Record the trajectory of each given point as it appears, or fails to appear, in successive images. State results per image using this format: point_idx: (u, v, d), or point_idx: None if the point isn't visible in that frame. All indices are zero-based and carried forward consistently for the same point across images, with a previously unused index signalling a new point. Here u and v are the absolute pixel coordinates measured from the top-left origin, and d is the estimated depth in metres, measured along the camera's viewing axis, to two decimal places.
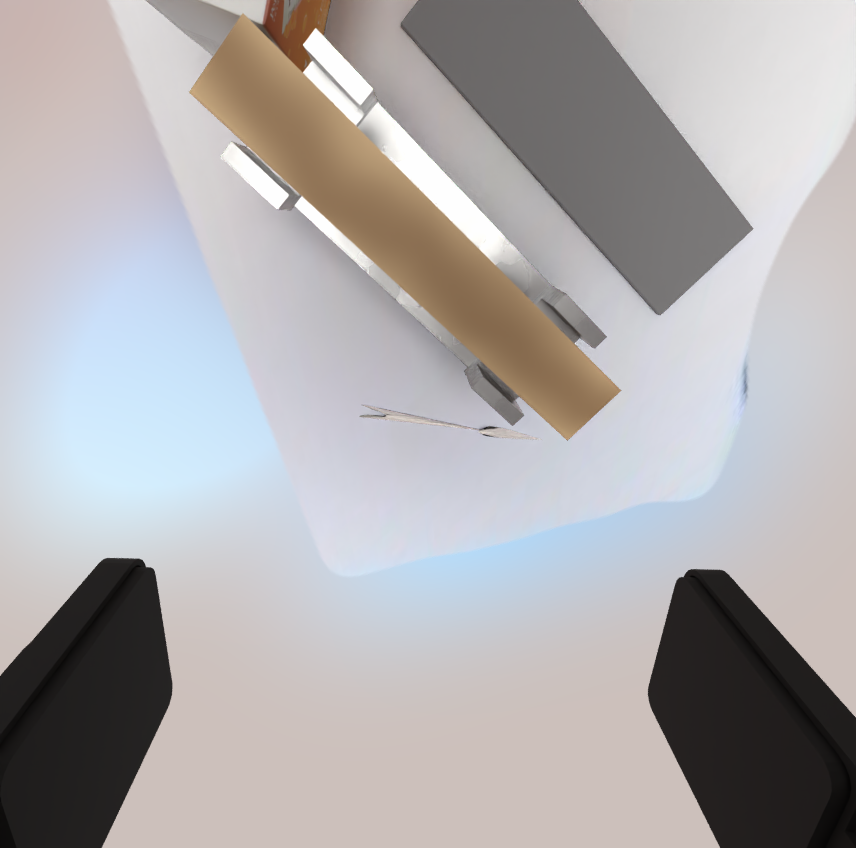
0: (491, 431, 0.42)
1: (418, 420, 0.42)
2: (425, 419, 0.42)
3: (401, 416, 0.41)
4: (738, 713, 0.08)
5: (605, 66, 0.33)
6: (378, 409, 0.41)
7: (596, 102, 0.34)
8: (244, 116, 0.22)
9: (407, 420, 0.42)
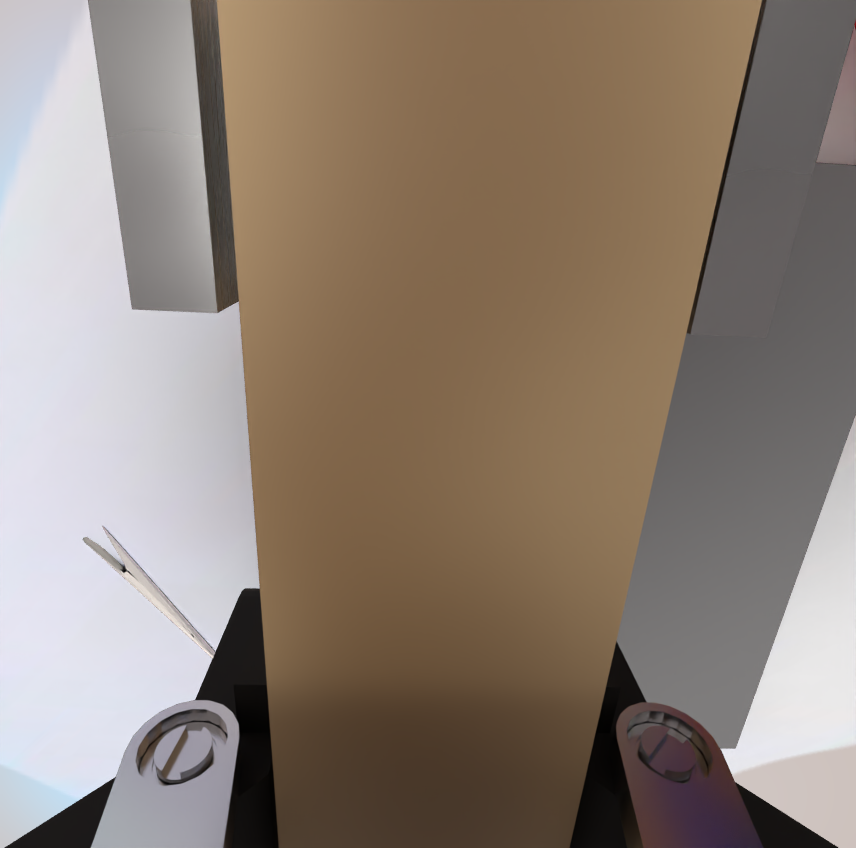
0: None
1: (168, 613, 0.22)
2: (180, 619, 0.23)
3: (148, 591, 0.22)
4: None
5: (809, 472, 0.21)
6: (122, 554, 0.21)
7: (760, 496, 0.21)
8: None
9: (152, 602, 0.22)
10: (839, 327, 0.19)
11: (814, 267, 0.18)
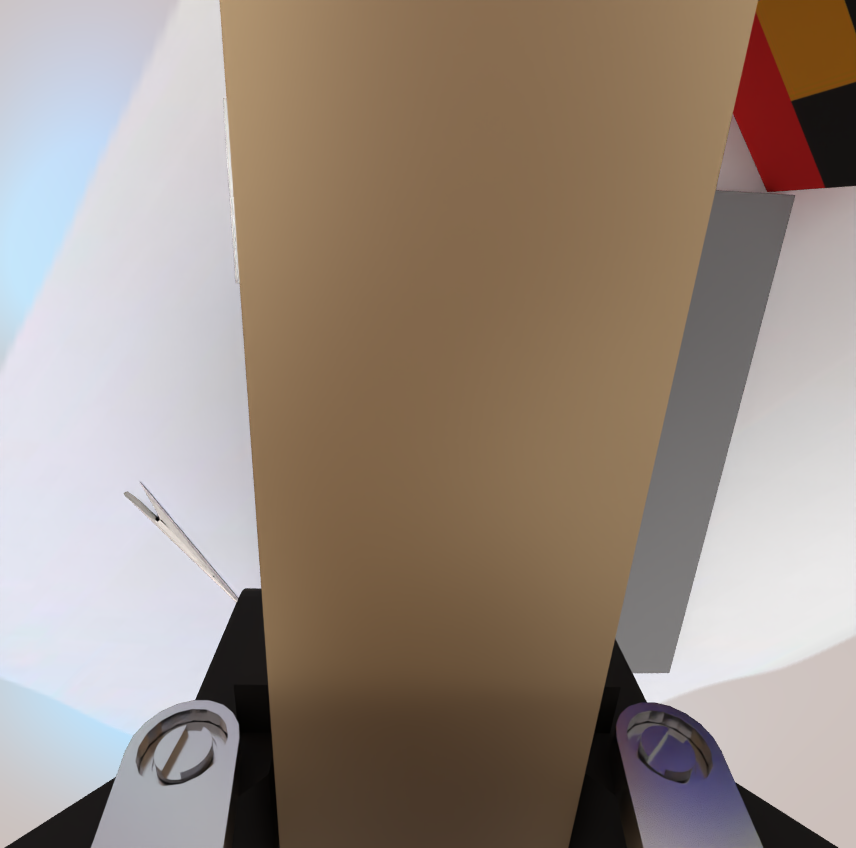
0: None
1: (194, 556, 0.27)
2: (203, 562, 0.27)
3: (177, 536, 0.26)
4: None
5: (712, 432, 0.26)
6: (156, 506, 0.26)
7: (674, 452, 0.26)
8: None
9: (180, 546, 0.27)
10: (726, 315, 0.24)
11: (703, 268, 0.23)
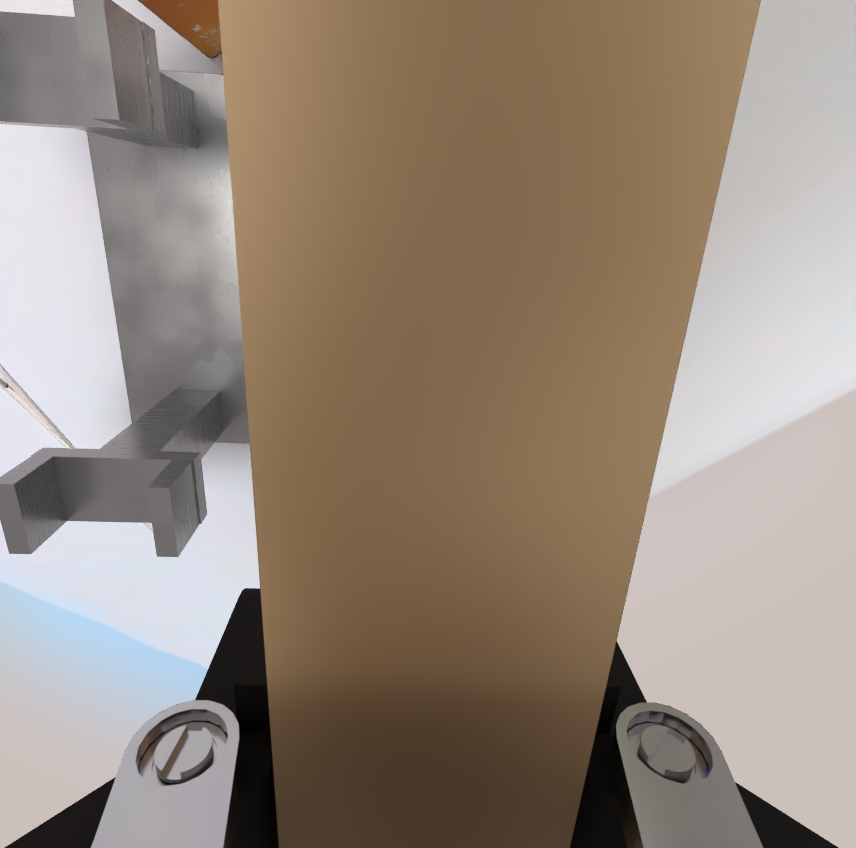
0: None
1: (41, 420, 0.33)
2: (50, 425, 0.33)
3: (25, 402, 0.32)
4: None
5: None
6: (5, 374, 0.32)
7: None
8: None
9: (29, 411, 0.32)
10: None
11: None
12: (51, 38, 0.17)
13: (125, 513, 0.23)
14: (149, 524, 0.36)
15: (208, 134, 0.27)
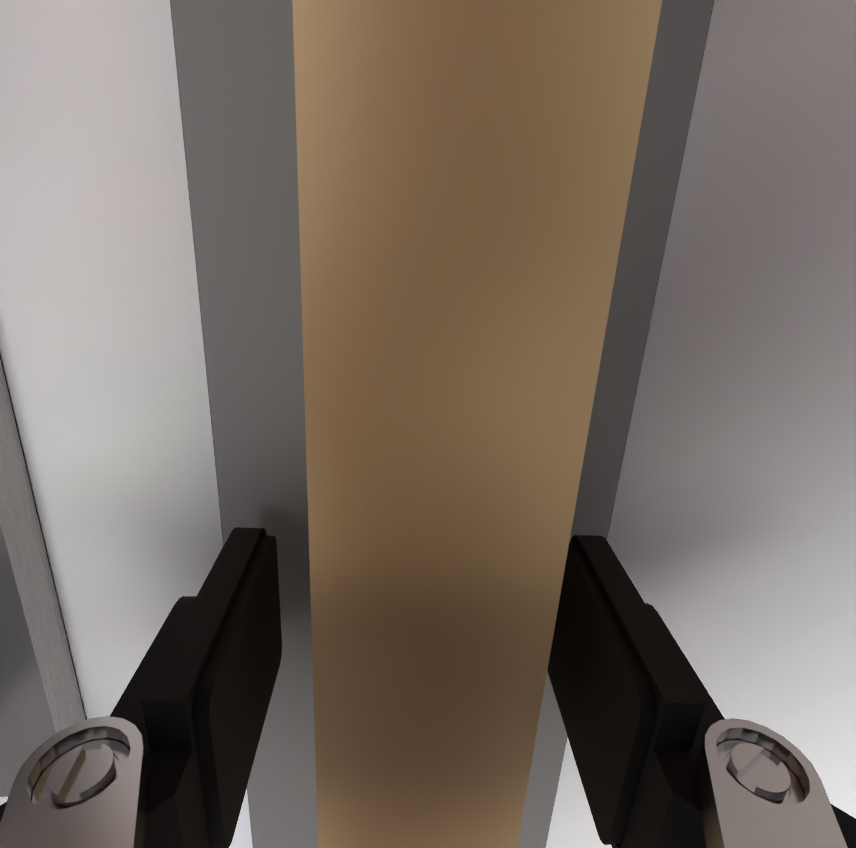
0: None
1: None
2: None
3: None
4: (593, 658, 0.09)
5: None
6: None
7: None
8: None
9: None
10: None
11: None
12: None
13: None
14: None
15: None
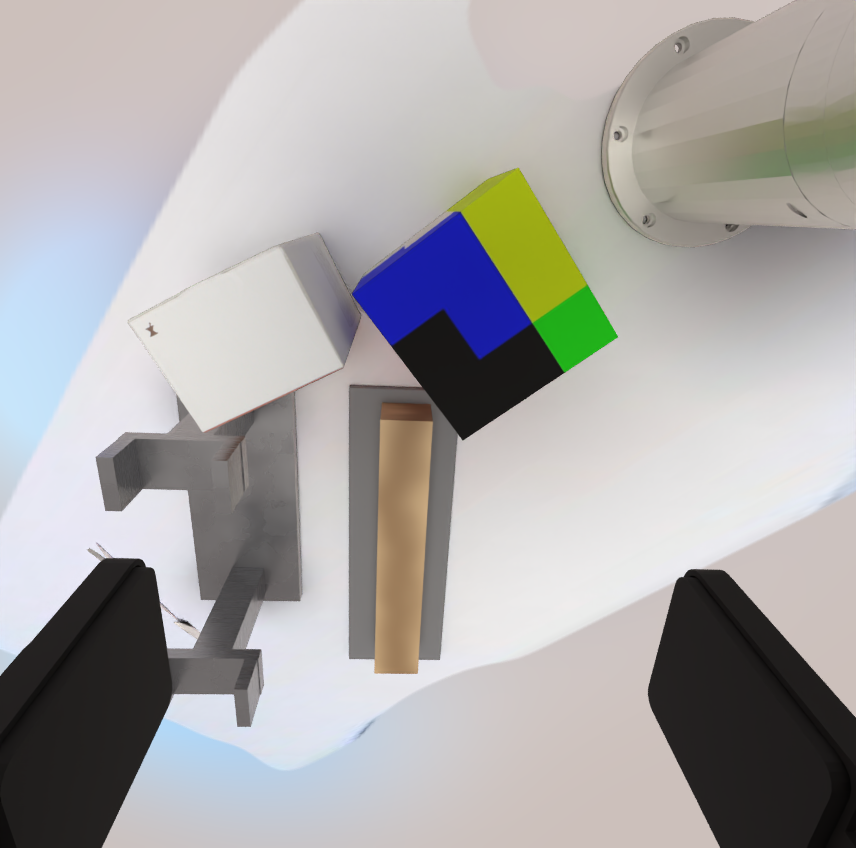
0: (184, 627, 0.47)
1: None
2: None
3: None
4: (738, 713, 0.08)
5: (438, 516, 0.43)
6: (107, 555, 0.44)
7: None
8: (391, 448, 0.37)
9: None
10: (433, 453, 0.41)
11: None
12: (187, 450, 0.29)
13: (212, 689, 0.36)
14: None
15: (261, 413, 0.39)
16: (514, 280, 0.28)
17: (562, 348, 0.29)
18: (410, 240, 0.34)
